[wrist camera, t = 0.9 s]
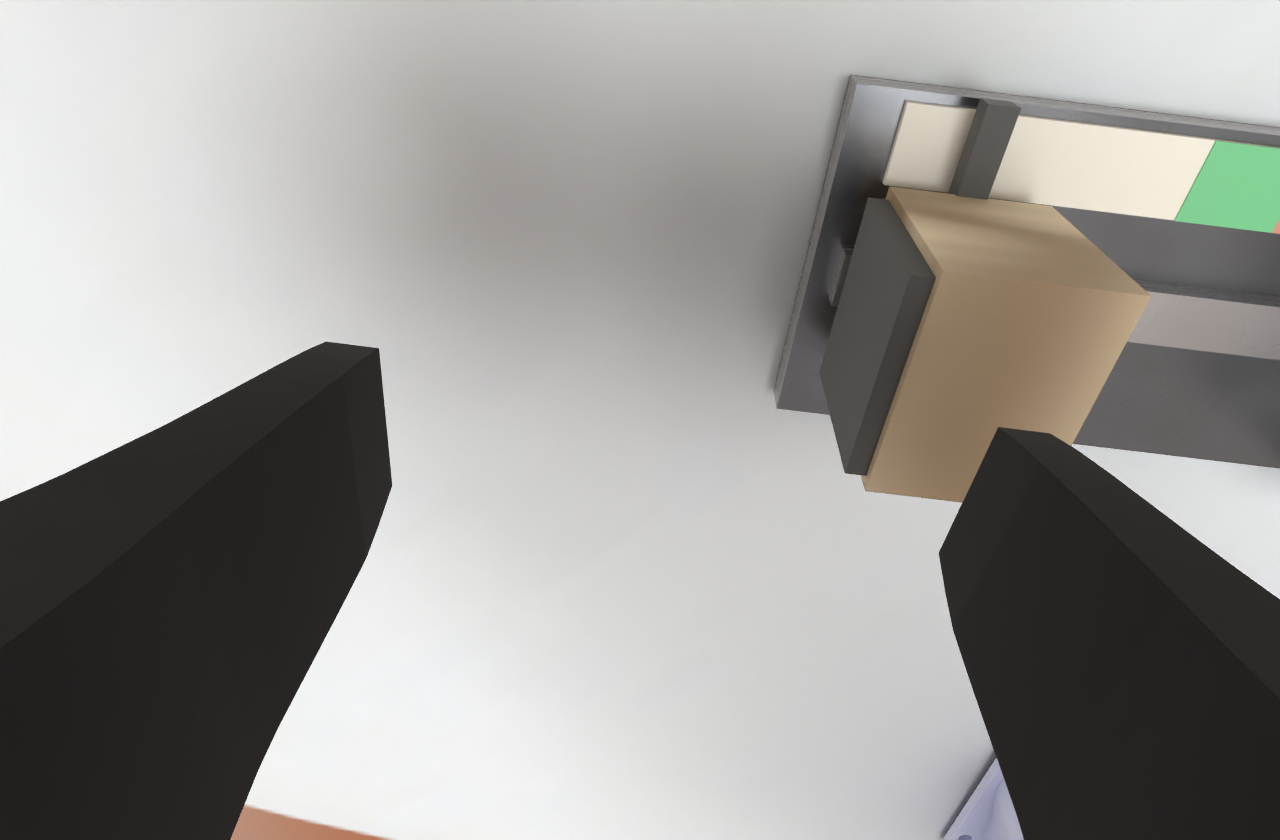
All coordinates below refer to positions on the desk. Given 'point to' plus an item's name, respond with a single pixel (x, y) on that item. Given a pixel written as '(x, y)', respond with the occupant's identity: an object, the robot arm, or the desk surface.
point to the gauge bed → (1115, 223)
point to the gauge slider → (967, 326)
